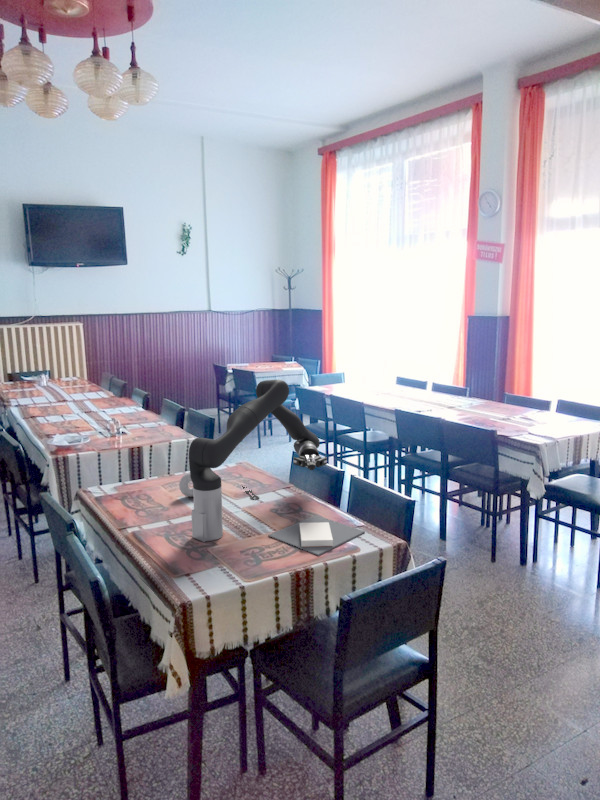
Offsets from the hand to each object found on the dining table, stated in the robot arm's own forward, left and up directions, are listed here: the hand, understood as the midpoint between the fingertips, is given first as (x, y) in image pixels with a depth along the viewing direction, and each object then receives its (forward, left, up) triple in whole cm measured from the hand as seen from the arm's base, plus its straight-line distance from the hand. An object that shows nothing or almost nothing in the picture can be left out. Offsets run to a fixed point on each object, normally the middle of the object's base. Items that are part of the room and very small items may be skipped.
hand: (311, 467), depth 214 cm
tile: (-8, -8, -17) cm, 20 cm away
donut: (-15, +50, -19) cm, 56 cm away
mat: (-10, -11, -19) cm, 24 cm away
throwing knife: (+4, +38, -19) cm, 42 cm away
